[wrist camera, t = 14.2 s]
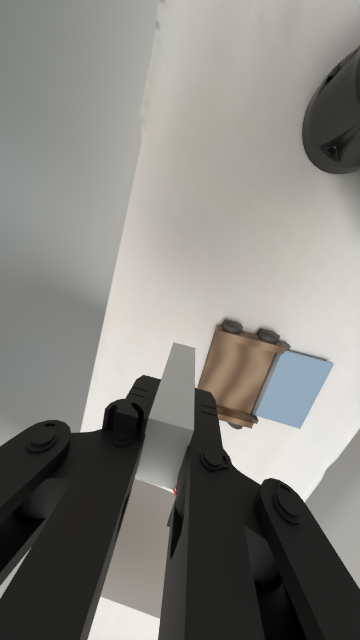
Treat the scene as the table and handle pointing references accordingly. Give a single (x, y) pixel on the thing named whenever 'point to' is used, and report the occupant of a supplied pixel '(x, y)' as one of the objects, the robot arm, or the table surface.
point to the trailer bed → (238, 370)
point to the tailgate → (291, 388)
